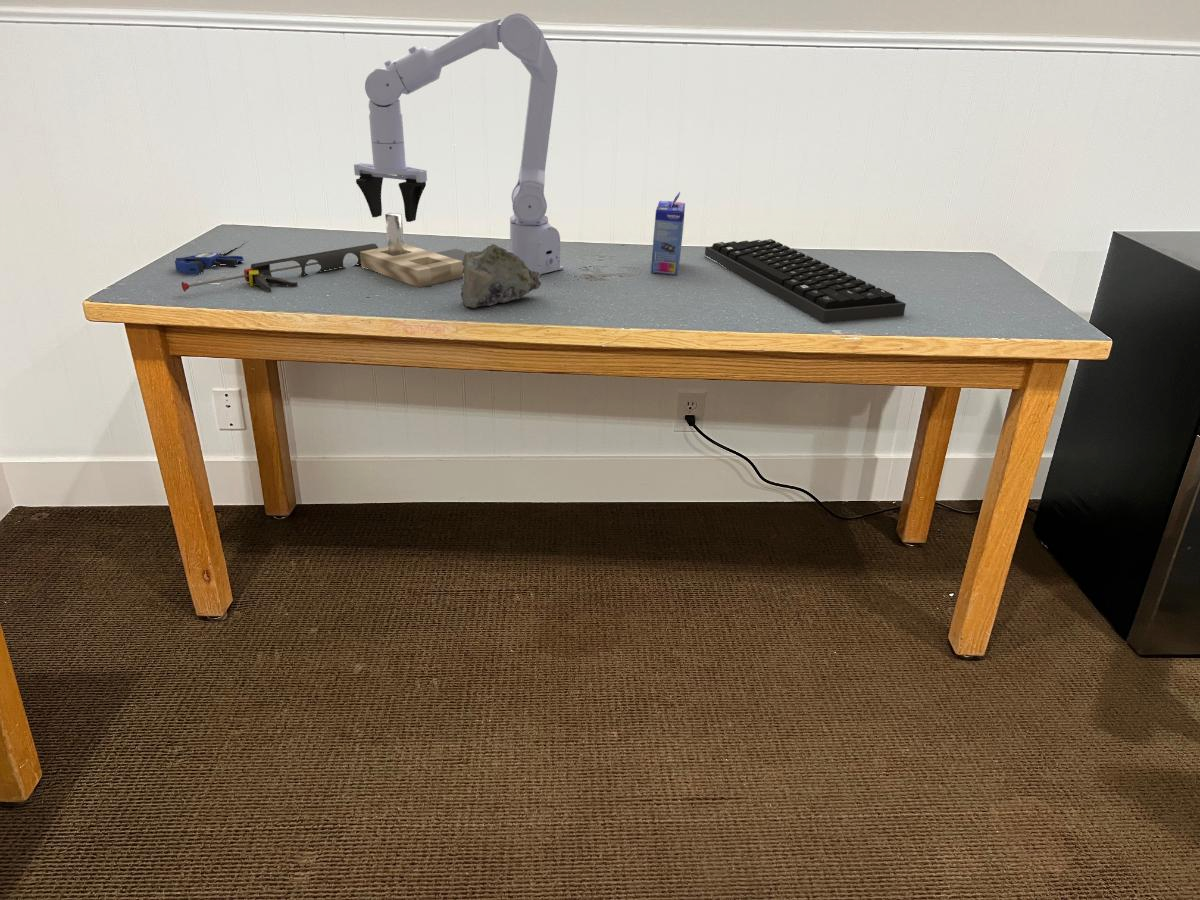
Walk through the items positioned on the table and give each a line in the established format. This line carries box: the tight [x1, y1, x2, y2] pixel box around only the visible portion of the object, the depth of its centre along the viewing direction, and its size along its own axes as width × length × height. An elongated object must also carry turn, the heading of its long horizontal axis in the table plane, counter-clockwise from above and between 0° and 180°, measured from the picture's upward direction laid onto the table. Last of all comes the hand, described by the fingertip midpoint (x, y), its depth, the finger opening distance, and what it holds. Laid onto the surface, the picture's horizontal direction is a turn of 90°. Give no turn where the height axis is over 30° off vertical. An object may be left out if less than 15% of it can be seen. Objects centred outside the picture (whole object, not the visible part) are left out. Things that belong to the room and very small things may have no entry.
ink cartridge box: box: [650, 191, 686, 276], centre depth 168 cm, size 10×6×14 cm, turn 173°
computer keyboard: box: [704, 238, 907, 324], centre depth 163 cm, size 45×16×4 cm, turn 19°
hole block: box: [360, 243, 464, 288], centre depth 162 cm, size 18×10×3 cm, turn 47°
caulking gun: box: [181, 243, 379, 293], centre depth 156 cm, size 4×37×10 cm
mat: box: [436, 248, 468, 266], centre depth 172 cm, size 10×10×1 cm
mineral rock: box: [460, 243, 542, 309], centre depth 145 cm, size 13×11×10 cm
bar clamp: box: [174, 252, 244, 275], centre depth 171 cm, size 32×2×10 cm
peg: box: [384, 212, 405, 256], centre depth 163 cm, size 3×3×10 cm
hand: (393, 218), depth 161 cm, fingers open, 7 cm apart
